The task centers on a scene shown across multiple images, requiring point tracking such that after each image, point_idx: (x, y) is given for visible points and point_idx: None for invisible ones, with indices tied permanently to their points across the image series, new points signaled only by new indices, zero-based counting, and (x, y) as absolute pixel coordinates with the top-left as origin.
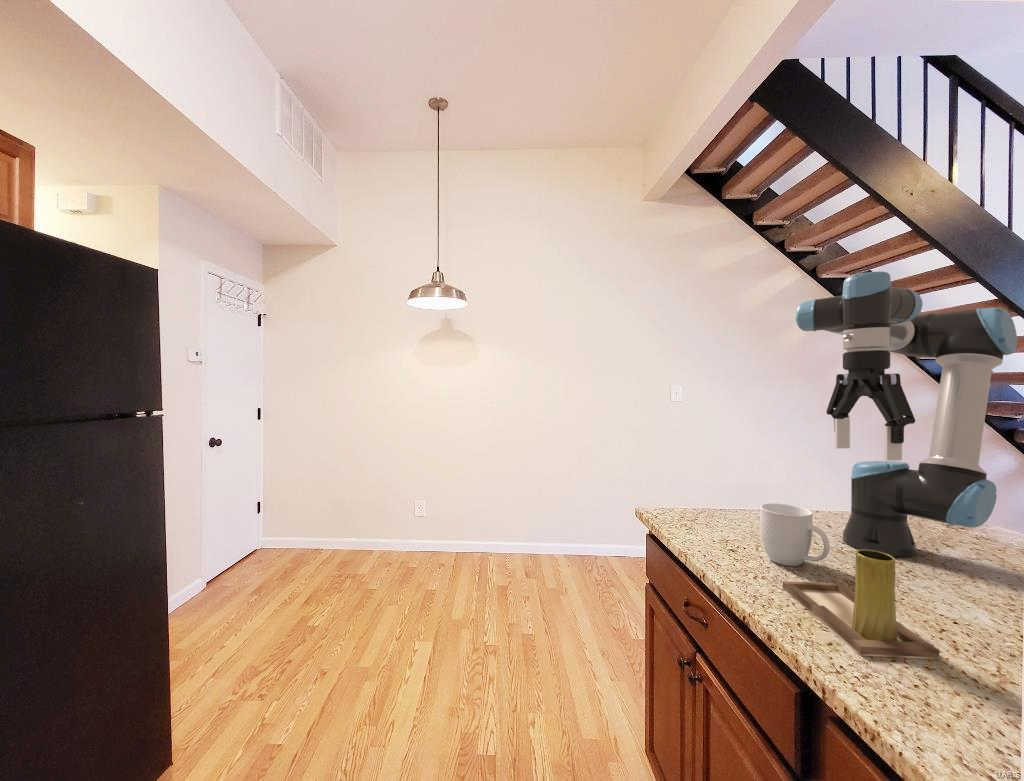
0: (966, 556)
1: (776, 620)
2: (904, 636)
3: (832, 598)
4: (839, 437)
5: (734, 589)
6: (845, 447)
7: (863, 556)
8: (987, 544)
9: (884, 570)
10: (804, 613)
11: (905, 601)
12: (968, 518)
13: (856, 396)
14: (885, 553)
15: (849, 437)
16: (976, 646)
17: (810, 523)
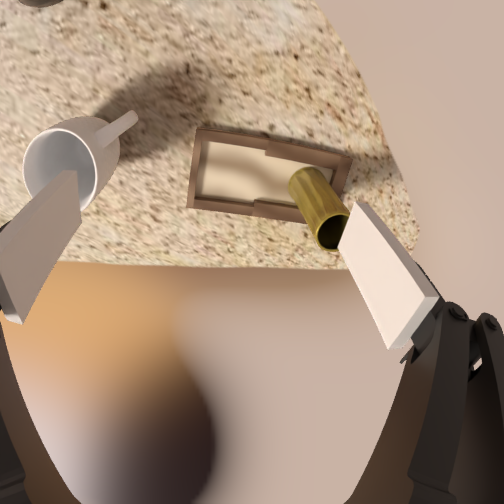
0: None
1: (260, 255)
2: (325, 167)
3: (223, 162)
4: (60, 242)
5: (190, 259)
6: (77, 191)
7: (335, 251)
8: None
9: None
10: (250, 219)
11: (237, 63)
12: None
13: (50, 492)
14: (337, 214)
15: (53, 195)
16: (340, 91)
17: (96, 141)
